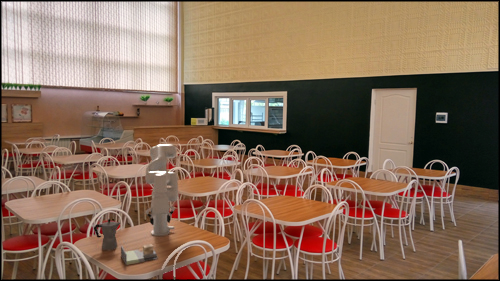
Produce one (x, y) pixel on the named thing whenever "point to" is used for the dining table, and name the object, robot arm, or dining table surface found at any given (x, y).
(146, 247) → the maple block
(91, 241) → the dining table surface
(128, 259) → the multicoloured piece
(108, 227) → the coffeepot
